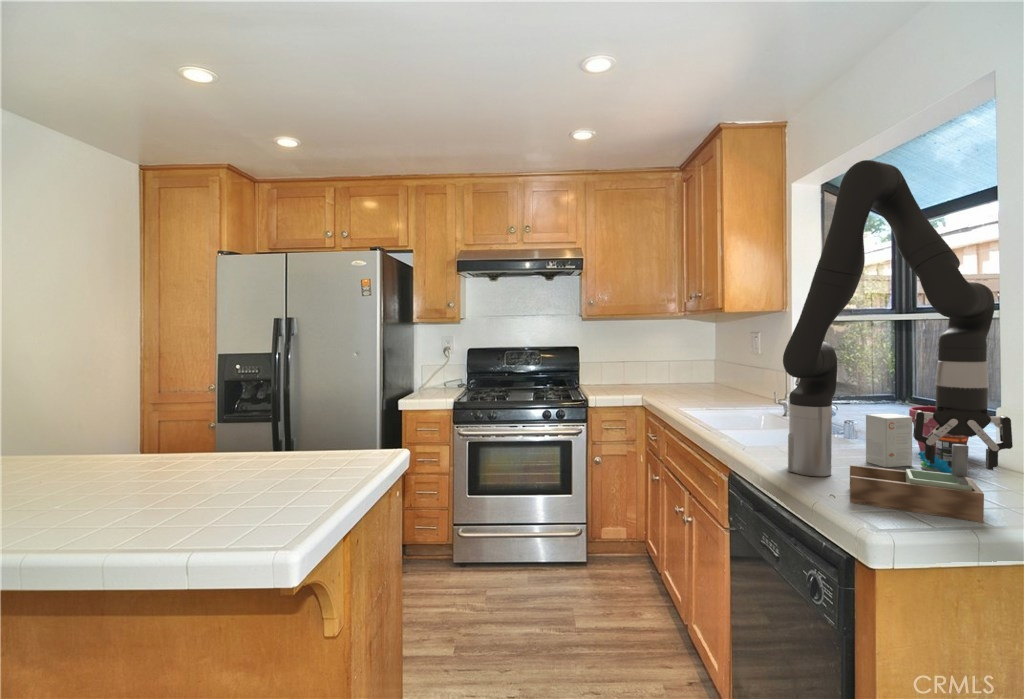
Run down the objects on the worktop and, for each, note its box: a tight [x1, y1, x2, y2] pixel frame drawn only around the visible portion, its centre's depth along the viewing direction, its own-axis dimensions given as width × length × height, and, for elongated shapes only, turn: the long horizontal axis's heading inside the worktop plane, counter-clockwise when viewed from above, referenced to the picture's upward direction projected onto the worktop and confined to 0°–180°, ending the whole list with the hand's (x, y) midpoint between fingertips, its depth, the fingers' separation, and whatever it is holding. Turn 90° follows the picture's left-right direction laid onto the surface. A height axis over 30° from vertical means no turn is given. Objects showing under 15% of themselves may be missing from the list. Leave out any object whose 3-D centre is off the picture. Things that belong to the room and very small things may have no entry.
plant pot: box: [908, 405, 970, 455], centre depth 139 cm, size 14×14×13 cm
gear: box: [917, 450, 952, 474], centre depth 114 cm, size 11×6×10 cm
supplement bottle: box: [936, 433, 968, 468], centre depth 126 cm, size 6×6×11 cm
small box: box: [865, 413, 913, 469], centre depth 131 cm, size 8×6×13 cm
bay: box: [849, 464, 985, 523], centre depth 101 cm, size 20×11×5 cm, turn 56°
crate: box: [905, 444, 972, 491], centre depth 99 cm, size 9×8×12 cm
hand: (959, 465), depth 97 cm, fingers open, 8 cm apart
